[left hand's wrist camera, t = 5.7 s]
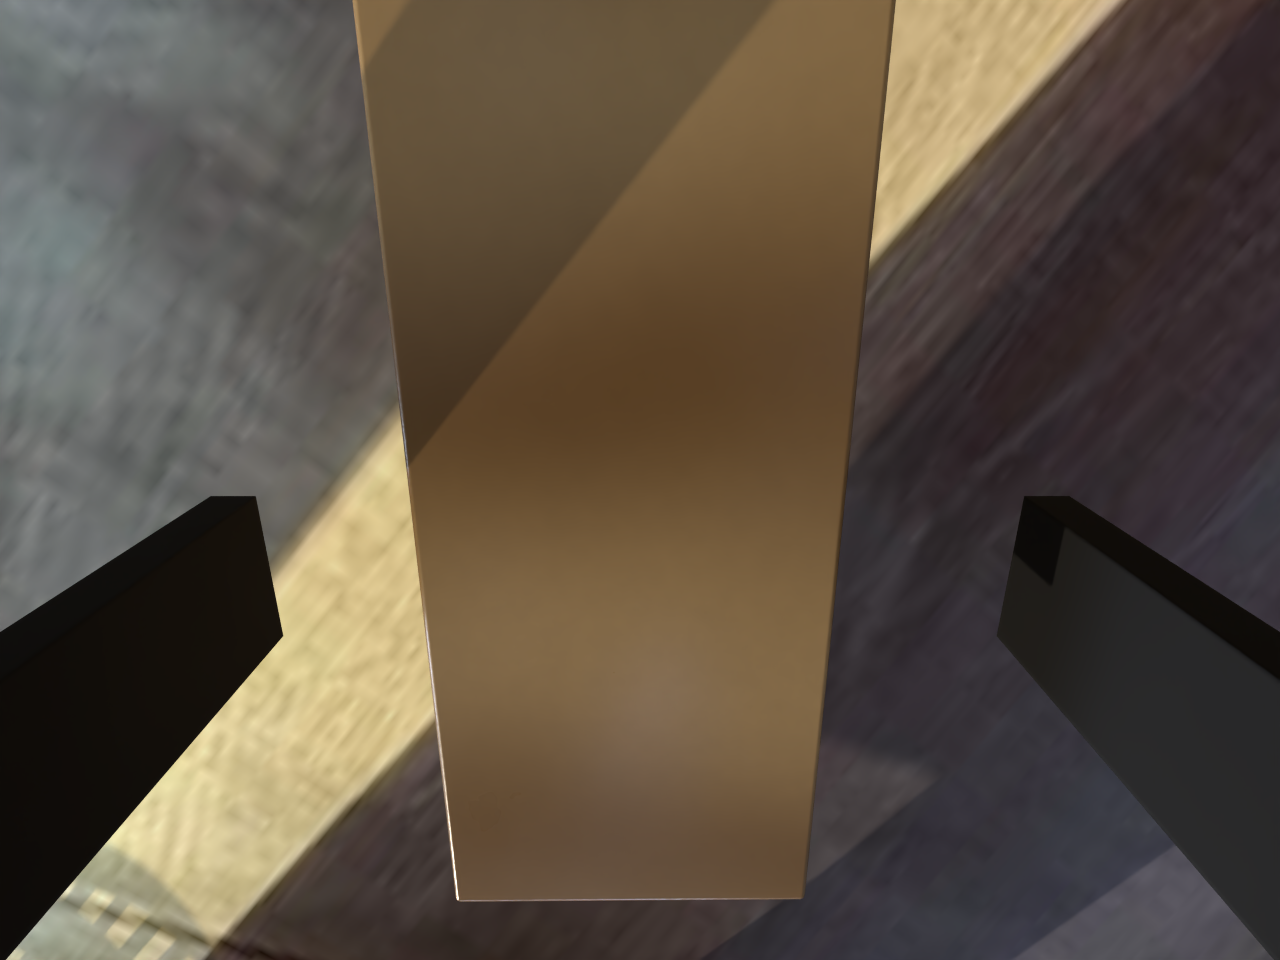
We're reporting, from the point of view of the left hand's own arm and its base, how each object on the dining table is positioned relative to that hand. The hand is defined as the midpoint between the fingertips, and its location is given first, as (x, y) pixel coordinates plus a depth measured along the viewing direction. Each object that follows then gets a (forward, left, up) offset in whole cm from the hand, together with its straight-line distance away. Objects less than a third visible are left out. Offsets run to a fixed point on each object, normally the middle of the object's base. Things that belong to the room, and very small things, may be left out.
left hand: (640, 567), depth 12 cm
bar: (+10, 0, -6) cm, 11 cm away
